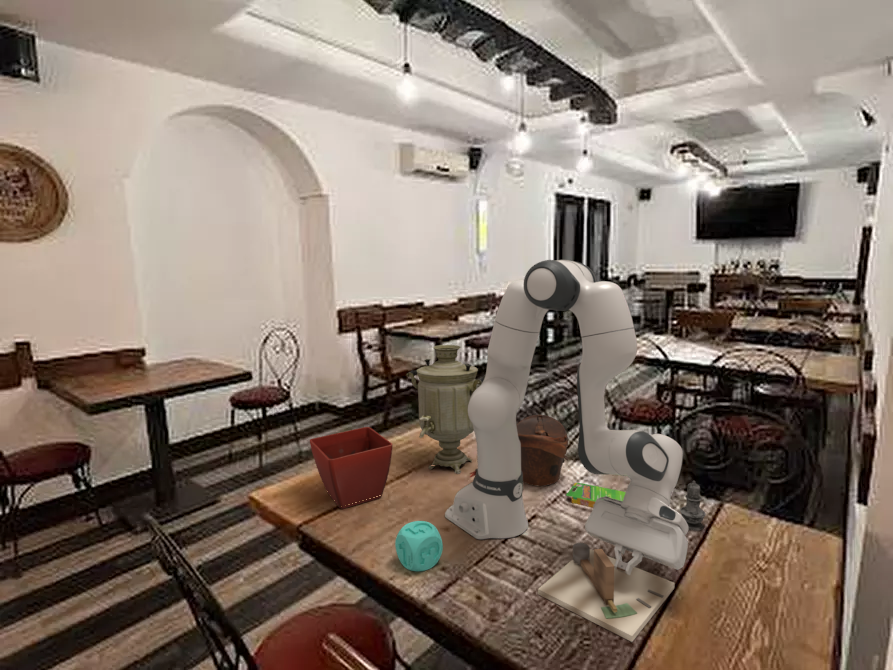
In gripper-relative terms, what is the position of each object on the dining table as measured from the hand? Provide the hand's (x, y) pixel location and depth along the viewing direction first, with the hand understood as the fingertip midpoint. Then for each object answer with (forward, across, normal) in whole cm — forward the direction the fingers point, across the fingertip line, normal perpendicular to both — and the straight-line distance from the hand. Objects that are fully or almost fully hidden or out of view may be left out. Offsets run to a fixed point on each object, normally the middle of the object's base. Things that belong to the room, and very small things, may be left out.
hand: (621, 571), depth 104 cm
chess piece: (-22, +1, +30) cm, 38 cm away
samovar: (-12, -73, +20) cm, 77 cm away
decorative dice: (+17, -40, -9) cm, 44 cm away
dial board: (+4, -3, +3) cm, 6 cm away
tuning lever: (+4, -5, +1) cm, 6 cm away
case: (-22, -44, +30) cm, 57 cm away
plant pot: (+10, -79, -2) cm, 80 cm away
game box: (-20, -21, +29) cm, 41 cm away
